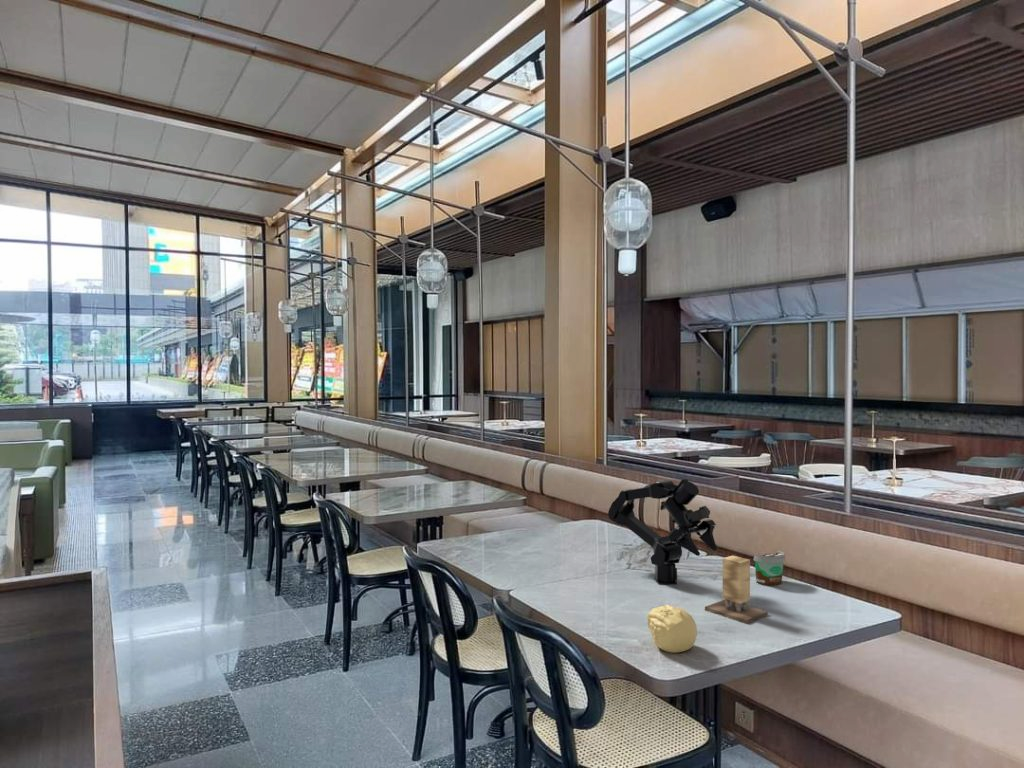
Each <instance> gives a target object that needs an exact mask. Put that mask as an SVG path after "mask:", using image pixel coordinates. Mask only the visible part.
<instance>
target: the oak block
mask: <svg viewBox="0 0 1024 768" xmlns="http://www.w3.org/2000/svg"><path fill="white" fill-rule="evenodd" d="M721 590H722V593H721V594H722V600H725V599H727V600H730V601H733V602H736V603H740V604H742V603H744V602H746V603H747V602H749V601H750V600H751V559H749V558H743V557H740V556H736V555H729V556H726V557H722V589H721Z"/></svg>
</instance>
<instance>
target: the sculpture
mask: <svg viewBox="0 0 1024 768" xmlns="http://www.w3.org/2000/svg"><path fill="white" fill-rule="evenodd" d="M646 616H647V617H646V618H647V627H648V629H649V631H650V634H651V637H652V641H653V643H654V644H655V646H656V647H658V648H659V649H660V650H662V651H665V652H668V653H672V654H673V653H676V654H677V653H682V652H685V651H688V650H689V649H691V648H692V647H693V646H694V645H695V643H696V640H697V636H698V629H697V628H698V627H697V624H696V621H695V619H694V618H693V616H692V615H691V614H690V613H689V612H688V611H687V610H686V609H684V608H681V607H677V606H672V605H671V604H670V605H669V604H666V605H661V606H657V607H656V606H655V607H654V608H651V610H650V611H649V612H648V613H647V615H646Z"/></svg>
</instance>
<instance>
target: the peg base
mask: <svg viewBox="0 0 1024 768" xmlns="http://www.w3.org/2000/svg"><path fill="white" fill-rule="evenodd" d="M704 611H707V612H710V613H713V614H716V615H719V616H721V615H722V617H724V618H727V617H728V619H732V620H734V621H736V622H740V623H742V624H746V625H747V624H750V623H752V622H754V621H758V620H759V619H762V618H764V617H766V615H767V616H768V614H769V613H768V611H766V610H764V609H761V608H758V607H757V608H756V607H755V606H751V605H747V601H746V602H744V603H741V604H740V603H736V602H733V601H730V600H727V599H722V600H719V601H717V602H714V603H711V604H709V605H706V606H704Z"/></svg>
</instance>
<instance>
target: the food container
mask: <svg viewBox="0 0 1024 768" xmlns="http://www.w3.org/2000/svg"><path fill="white" fill-rule="evenodd" d="M753 561H754V566H755V567H754V568H755V581H756V584H757V583H758V584H757V585H760V586H761V585H762V586H768V587H777V586H780V585H782V584H783V583H782V580H783V572H784V571H783V570H784V563H785V562H786V555H785V553H784V552H783V551H781V550H777V552H775V553H765V554H763V555H762V554H761V555H758V554H754V556H753Z"/></svg>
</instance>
